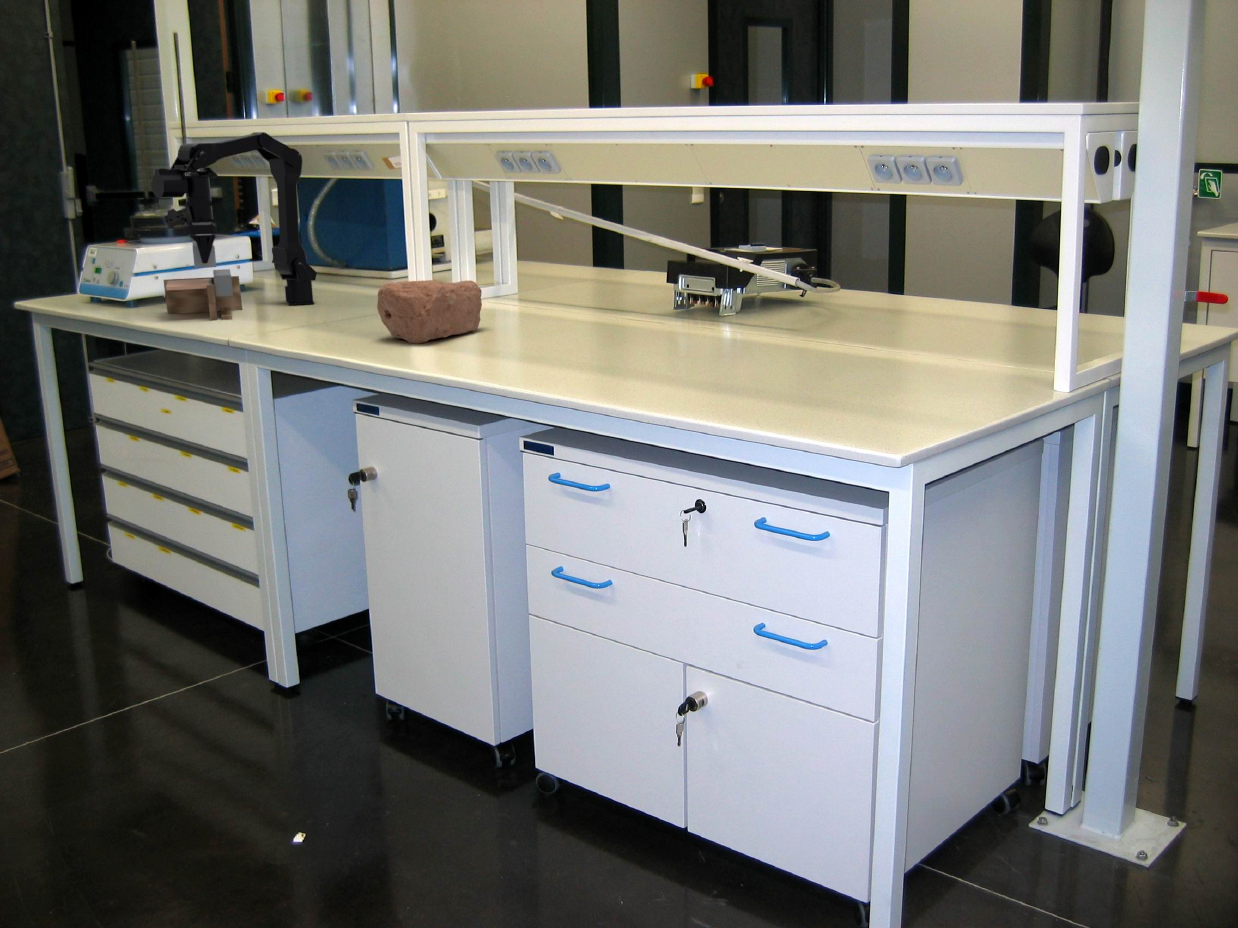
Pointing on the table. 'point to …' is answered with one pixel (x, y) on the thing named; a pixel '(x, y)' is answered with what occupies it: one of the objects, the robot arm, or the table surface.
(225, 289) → the trapdoor
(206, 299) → the frame
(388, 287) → the stone
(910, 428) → the table surface
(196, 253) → the slate block
